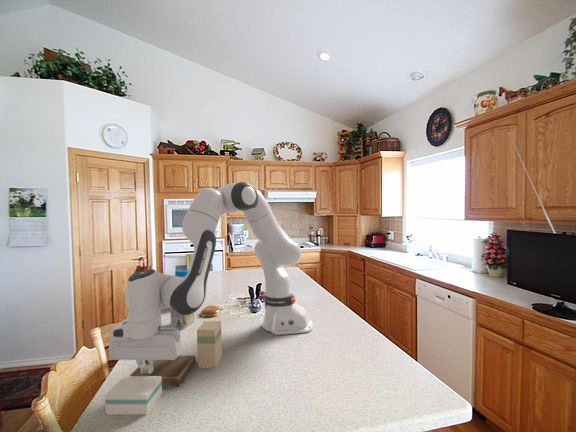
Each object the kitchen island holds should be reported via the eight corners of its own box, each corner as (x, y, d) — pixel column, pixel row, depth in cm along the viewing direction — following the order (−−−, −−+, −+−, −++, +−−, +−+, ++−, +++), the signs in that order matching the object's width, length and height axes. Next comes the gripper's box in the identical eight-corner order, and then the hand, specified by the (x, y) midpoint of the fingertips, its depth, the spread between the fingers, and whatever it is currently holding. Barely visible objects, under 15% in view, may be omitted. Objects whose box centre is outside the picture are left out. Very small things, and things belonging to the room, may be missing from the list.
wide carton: (162, 394, 81) (161, 376, 81) (147, 415, 73) (146, 394, 73) (124, 394, 81) (123, 376, 81) (105, 415, 73) (104, 394, 73)
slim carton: (222, 356, 101) (221, 321, 100) (215, 368, 94) (214, 329, 93) (205, 356, 101) (204, 320, 101) (197, 367, 94) (196, 329, 93)
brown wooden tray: (195, 362, 97) (195, 355, 97) (179, 386, 84) (178, 378, 84) (150, 361, 98) (150, 354, 98) (127, 385, 85) (127, 377, 85)
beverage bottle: (193, 304, 156) (192, 268, 155) (187, 309, 147) (185, 272, 147) (179, 303, 157) (178, 268, 156) (171, 309, 148) (170, 271, 148)
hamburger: (227, 317, 137) (227, 305, 137) (197, 320, 134) (197, 308, 134) (227, 307, 151) (227, 296, 151) (200, 309, 148) (200, 298, 148)
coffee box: (182, 320, 134) (181, 287, 133) (194, 321, 132) (193, 287, 132) (170, 328, 125) (169, 293, 124) (183, 329, 123) (182, 293, 123)
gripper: (184, 321, 85) (186, 366, 85) (118, 322, 86) (121, 366, 86) (174, 331, 78) (176, 379, 79) (104, 331, 79) (106, 379, 80)
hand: (147, 372), depth 83 cm, fingers closed
